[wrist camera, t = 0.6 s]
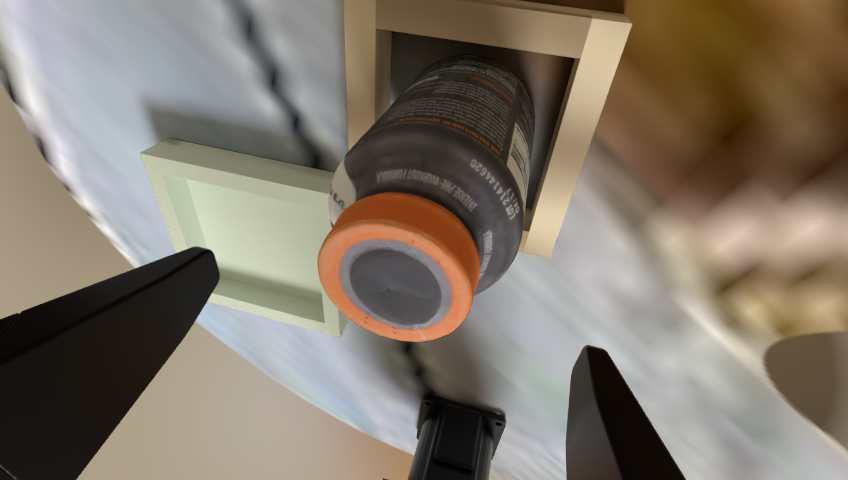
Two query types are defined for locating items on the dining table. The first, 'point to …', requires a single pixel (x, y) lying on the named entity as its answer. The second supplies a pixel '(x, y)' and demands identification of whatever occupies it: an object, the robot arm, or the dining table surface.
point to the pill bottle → (430, 201)
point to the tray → (250, 227)
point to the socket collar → (504, 27)
